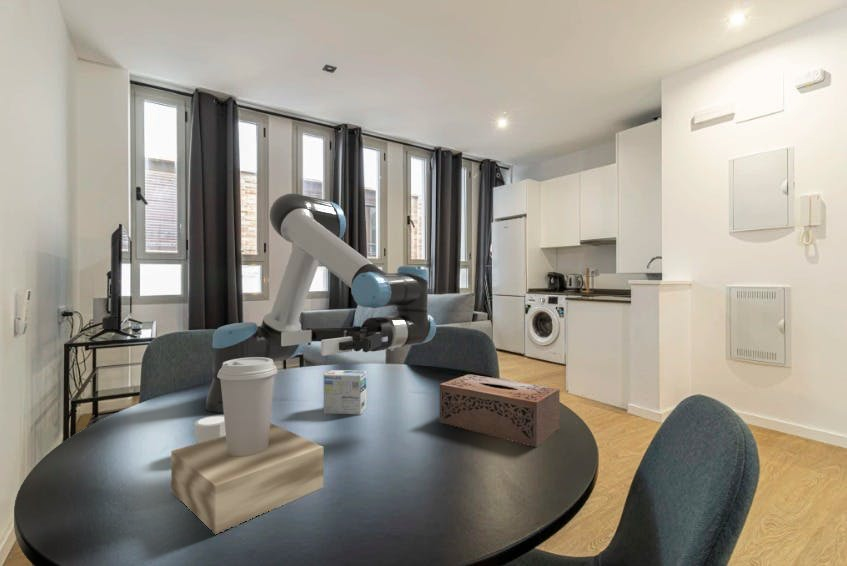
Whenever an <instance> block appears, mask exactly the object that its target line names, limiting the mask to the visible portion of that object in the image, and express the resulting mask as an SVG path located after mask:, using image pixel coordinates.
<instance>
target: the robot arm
mask: <svg viewBox="0 0 847 566" xmlns="http://www.w3.org/2000/svg"><path fill="white" fill-rule="evenodd" d="M269 221H270V224H271V226H272V228H273V230H274V231H275V232H276V233H277V234H278V235H279V236H280V237H281V238H283V239H284V240H285V241H286V242H289V243H293V246H292V250H291V252H290V254H289V255H290V256H289V259H288V261H287V264H286V267H285V270H284V273H283V276H282V278H281V282H280V285H279V288H278V291H277V294H276V297H275V300H274V303H273V305H272V308H271V312H269V313H266V314H265V315H264V317H263V319H262V322H261V325H258V324H257V323H255V322H254V321H253V322H251V321H247V322H246V321H245V322H239V323H238V322H236V323H231V324H226V325H222V326H219V327H218V328H217V329H215V331H214V332H213V335H212V343H211V346H212V381H211V382H212V383H211V385H210V388H209V391H208V393H207V396H206V399H205V409H206V411H208V412H211V413H218V414H221V413H223V414H224V411H223V400H222V390H221V380H220V378H218V377H217V375H218V372H219V370H220V369H221V368H222V364H223V363H224V362H225V361H228V360H233V359H239V358H250V357H264V358H270V359H272V360H273V363H274V362H282V361H286V360H289V359H292V358H294V357H297V355H298V354H299V353H300V352H301V350H302V348H303V345H304V344H307V345H308V346H312V345H311V344H312V342H320V355H321V356H323V357H324V356H329V355H330V356H331V355H337V354H343V353H349V352H353V351H355V352H360V351H361V350H362V352H364V353H368V352H372V353H373V352H381V351H385V350H389V351H392V352H393V351H395V350H394V349H395V348H401V347H408V346H417V345H422V344H426V343H428V342H430V341H432V339H433V338H434V337H435V335H436V332H437V324H436V322H435V319H434V317H433V316H432V315H431V314H429V313H428V292H429V291H428V290H429V287H428V286H429V281H428V279H429V278H428V270H427V267H425V266H422V265H421V266H420V265H418V266H417V265H401V266H399V267H398V268H397V271H396V272H397V273H396V272H395V273H389V272H388V273H387V272H386V271H383V270H382V269H381V268H379V267H378V266H377V265H376V264H374V263H373V262H372V261H370V260H369V259H368V258H366V257H365V256H363V255H362V254H361V253H360V252H358V251H357V250H355V249H354V248H352V246H350V245H349V244H348V243H346V242H345V241H343V240H342V239H341V238H342V237H343V236H344V234H345V232H346V227H347V219H346V216H345V213H344V210H343V209H342V207H340V206H339V205H338V204H337V203H335V202H333V201H330V200H327V199H322V198H318V197H312V196H309V195H303V194H301V193H286V194H284V195H281V196H279V197H278V198H277V199H276V200H275V201H274V202H273V203H272V205H271V207H270V210H269ZM319 264H321V265H322V266H323V267H325V268H326V269H327V270H328V271H329V272H331V273H332V274H333V275H334V276H335V277H337V278H338V279H339V280H341V281H342V282H343V283H344V284H346V286H348V287H349V288H351V289H350V290H351V291H350V292H351V296H352V297H353V300H354V302H355V303H356V305H358V306H360V307H362V308H369V309H370V308H371V309H378V308H387V307H396V315H386V316H375V317H368V318H366V319H365V320H364V321H363V323H362V325H353V326H342V327H316V328H314V327H311V328H310V327H307V328H305V330H303V329H302V324H301V322H300V321H299V320H300V317H301V314H302V311H303V309H304V306H305V303H306V300H307V298H308V295H309V292H310V289H311V286H312V283H313V281H314V278H315V275H316V273H317V270H318V267H319Z"/></svg>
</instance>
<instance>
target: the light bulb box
mask: <svg viewBox="0 0 847 566" xmlns="http://www.w3.org/2000/svg"><path fill="white" fill-rule="evenodd" d="M367 406H368V405H367V370H352V369H351V370H350V369H349V370H348V369H346V370H341V369H339V370H338V369H337V370H335V369H331V370H329V371H327V372H326V373H324V374H323V414H333V415H334V414H336V415H337V414H338V415H361V414H362V413H363V412H364V411H365V410H366V408H368V407H367Z"/></svg>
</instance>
